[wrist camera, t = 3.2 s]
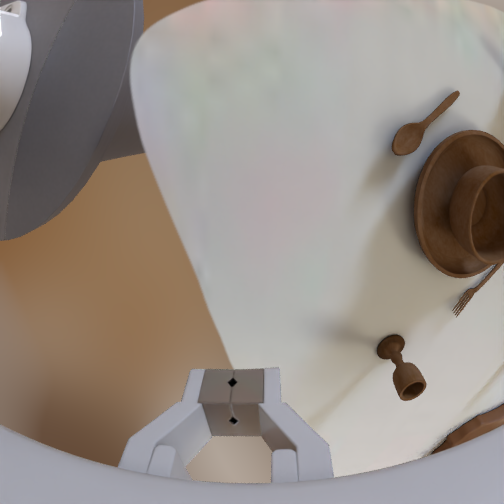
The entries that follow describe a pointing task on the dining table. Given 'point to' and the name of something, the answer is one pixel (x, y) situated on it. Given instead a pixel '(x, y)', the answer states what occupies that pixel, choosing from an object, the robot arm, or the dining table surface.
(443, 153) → the place setting
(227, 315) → the dining table surface
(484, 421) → the plant
